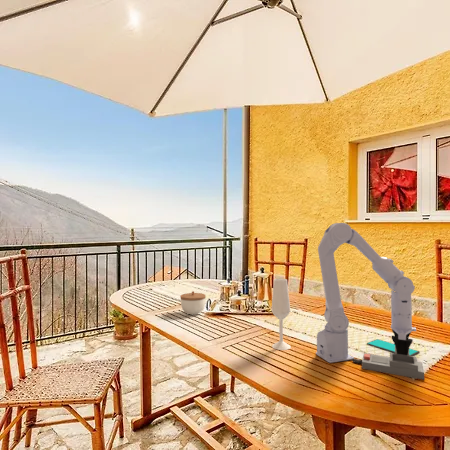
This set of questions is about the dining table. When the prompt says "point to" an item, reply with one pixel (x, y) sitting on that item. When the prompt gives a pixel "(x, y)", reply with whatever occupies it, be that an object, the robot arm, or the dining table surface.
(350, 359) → the robot arm
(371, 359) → the power strip
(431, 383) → the dining table surface
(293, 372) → the dining table surface
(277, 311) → the champagne flute
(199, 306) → the lidded sugar bowl
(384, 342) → the smartphone
